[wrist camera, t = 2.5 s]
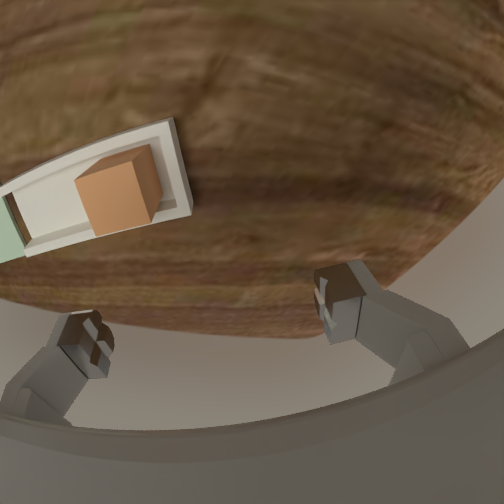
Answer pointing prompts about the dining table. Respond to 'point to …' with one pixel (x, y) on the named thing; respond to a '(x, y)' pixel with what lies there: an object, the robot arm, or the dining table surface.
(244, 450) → the robot arm
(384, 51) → the dining table surface
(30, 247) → the chute
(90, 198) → the block
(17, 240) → the pad
